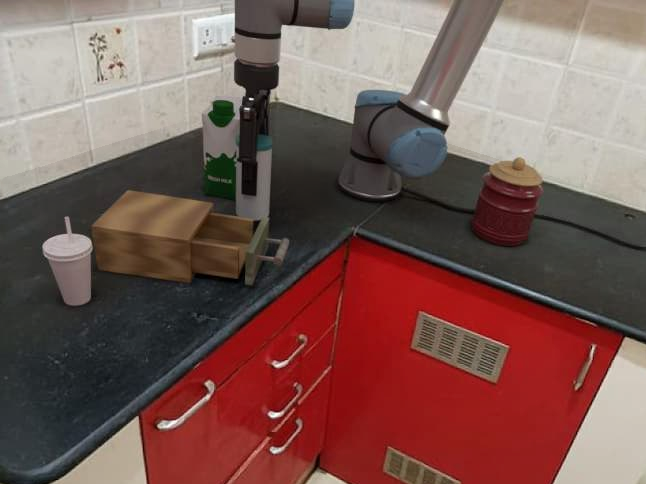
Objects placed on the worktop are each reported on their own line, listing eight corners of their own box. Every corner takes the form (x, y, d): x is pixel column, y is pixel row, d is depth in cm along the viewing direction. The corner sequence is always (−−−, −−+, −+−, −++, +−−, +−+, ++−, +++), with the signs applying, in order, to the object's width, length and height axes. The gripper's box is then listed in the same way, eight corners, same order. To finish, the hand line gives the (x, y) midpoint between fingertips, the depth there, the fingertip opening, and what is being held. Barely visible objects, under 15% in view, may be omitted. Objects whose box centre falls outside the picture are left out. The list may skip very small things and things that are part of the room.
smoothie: (98, 309, 84) (84, 228, 76) (50, 312, 82) (31, 229, 74) (102, 285, 89) (90, 206, 81) (57, 287, 87) (40, 206, 79)
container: (272, 208, 112) (276, 136, 104) (265, 223, 107) (269, 148, 98) (239, 202, 112) (240, 130, 104) (231, 217, 106) (231, 142, 98)
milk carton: (200, 196, 119) (196, 102, 108) (214, 179, 126) (212, 90, 115) (240, 203, 118) (241, 110, 107) (252, 186, 126) (254, 97, 115)
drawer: (291, 251, 104) (293, 221, 100) (278, 289, 93) (279, 257, 89) (192, 236, 103) (190, 205, 99) (167, 273, 92) (165, 239, 89)
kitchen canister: (479, 213, 132) (499, 141, 122) (532, 230, 128) (557, 158, 118) (462, 234, 121) (482, 157, 112) (519, 253, 118) (545, 176, 108)
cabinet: (214, 242, 104) (213, 202, 99) (190, 283, 92) (188, 240, 88) (132, 230, 103) (127, 189, 99) (97, 269, 92) (90, 225, 87)
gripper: (248, 46, 101) (246, 164, 114) (218, 70, 85) (219, 205, 98) (289, 53, 102) (282, 170, 114) (267, 78, 86) (261, 212, 98)
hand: (253, 186), depth 106 cm, fingers closed on container, 6 cm apart
